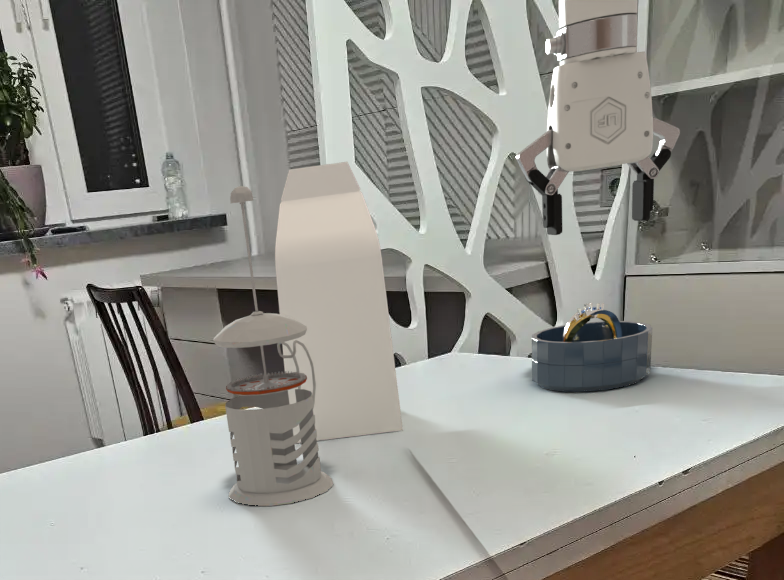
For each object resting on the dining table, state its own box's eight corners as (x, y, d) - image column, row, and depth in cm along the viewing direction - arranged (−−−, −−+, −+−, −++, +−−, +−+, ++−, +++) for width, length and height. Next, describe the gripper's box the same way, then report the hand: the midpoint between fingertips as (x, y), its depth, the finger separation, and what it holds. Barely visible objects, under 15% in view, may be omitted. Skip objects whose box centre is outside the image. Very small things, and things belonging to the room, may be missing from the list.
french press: (206, 502, 82) (153, 197, 71) (275, 464, 91) (237, 187, 80) (298, 509, 77) (256, 182, 66) (361, 468, 86) (334, 173, 75)
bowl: (622, 362, 113) (623, 316, 111) (669, 382, 101) (672, 331, 99) (518, 377, 113) (517, 331, 110) (553, 398, 101) (553, 347, 99)
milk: (291, 443, 97) (256, 172, 86) (291, 419, 107) (260, 174, 96) (402, 430, 97) (382, 155, 85) (392, 406, 107) (373, 159, 95)
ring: (567, 381, 105) (568, 308, 102) (557, 376, 108) (557, 305, 105) (625, 372, 106) (628, 300, 102) (614, 368, 108) (616, 297, 105)
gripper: (525, 52, 89) (530, 241, 96) (698, 24, 89) (690, 215, 96) (503, 62, 95) (510, 238, 103) (664, 37, 96) (659, 214, 103)
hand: (597, 227), depth 100 cm, fingers open, 9 cm apart
